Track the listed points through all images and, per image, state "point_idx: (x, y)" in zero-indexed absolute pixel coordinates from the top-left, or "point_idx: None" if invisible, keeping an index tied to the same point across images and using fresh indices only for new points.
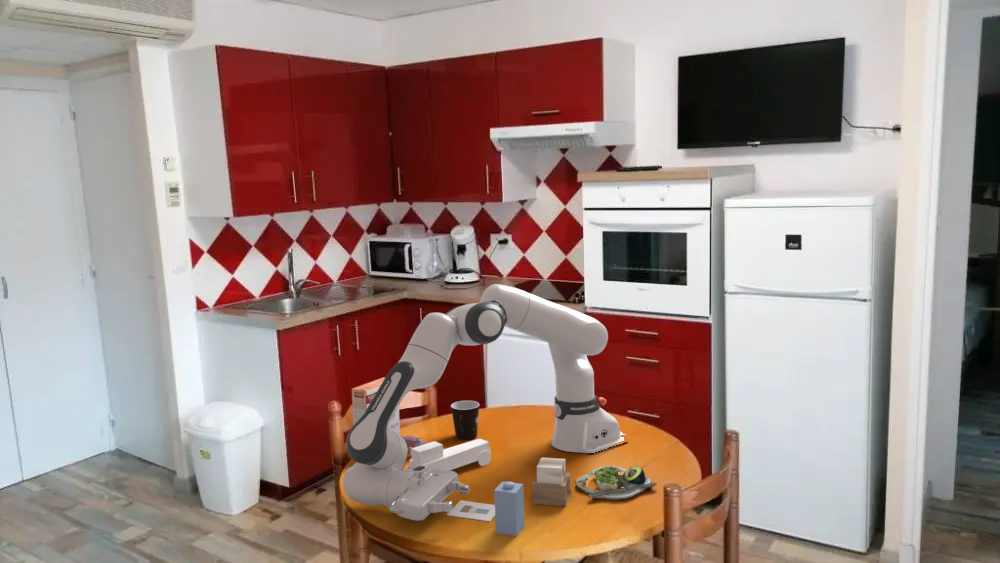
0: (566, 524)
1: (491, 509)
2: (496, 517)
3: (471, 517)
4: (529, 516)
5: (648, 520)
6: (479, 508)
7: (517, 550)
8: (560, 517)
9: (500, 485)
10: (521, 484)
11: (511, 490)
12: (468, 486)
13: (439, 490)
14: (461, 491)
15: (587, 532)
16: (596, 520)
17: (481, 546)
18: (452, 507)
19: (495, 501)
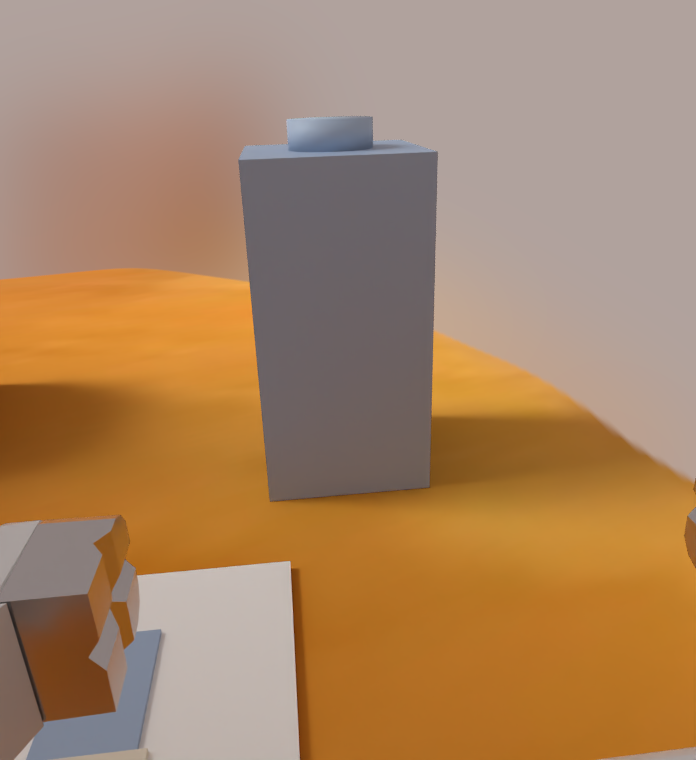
0: (198, 349)
1: None
2: (430, 376)
3: (282, 720)
4: (139, 442)
5: (118, 273)
6: (32, 744)
7: (527, 382)
8: (130, 371)
9: (327, 154)
10: (255, 146)
11: (376, 143)
12: (33, 522)
13: (691, 753)
14: (112, 648)
15: (247, 313)
16: (140, 317)
17: (641, 481)
18: (689, 524)
19: (434, 251)
